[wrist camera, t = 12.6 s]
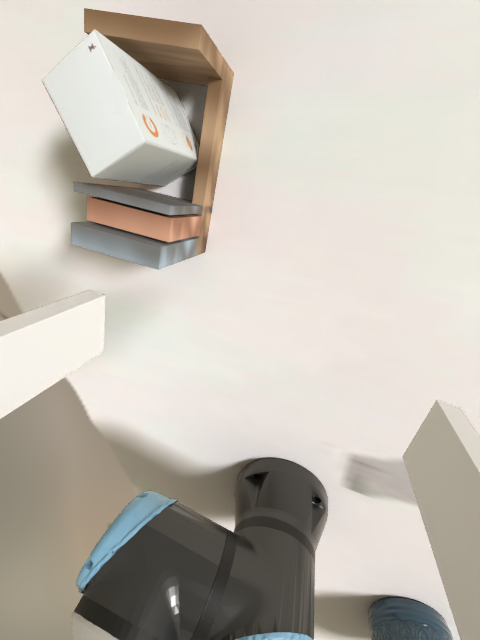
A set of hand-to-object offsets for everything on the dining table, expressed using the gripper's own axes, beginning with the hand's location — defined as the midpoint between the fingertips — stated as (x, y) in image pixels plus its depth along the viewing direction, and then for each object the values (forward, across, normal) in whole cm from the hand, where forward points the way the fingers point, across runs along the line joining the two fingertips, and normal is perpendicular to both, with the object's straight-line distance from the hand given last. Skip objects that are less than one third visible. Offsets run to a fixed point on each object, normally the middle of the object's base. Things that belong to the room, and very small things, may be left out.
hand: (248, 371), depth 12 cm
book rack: (+27, +17, -7) cm, 32 cm away
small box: (+27, +18, -10) cm, 34 cm away
